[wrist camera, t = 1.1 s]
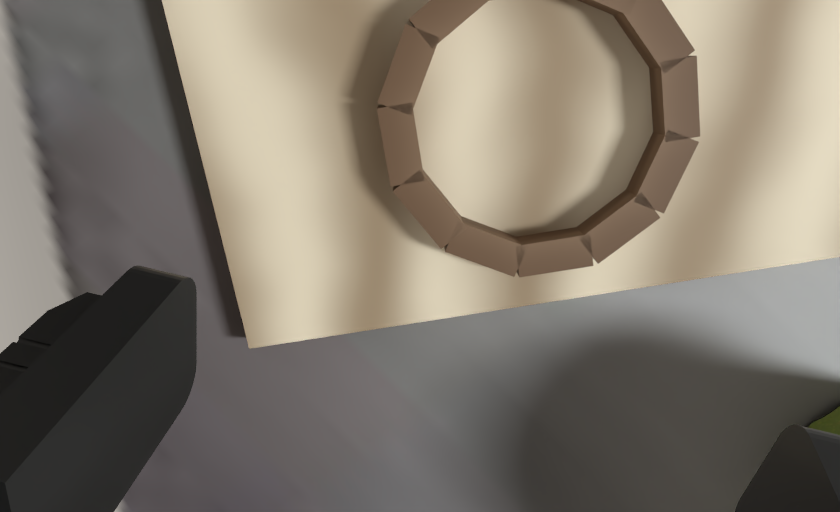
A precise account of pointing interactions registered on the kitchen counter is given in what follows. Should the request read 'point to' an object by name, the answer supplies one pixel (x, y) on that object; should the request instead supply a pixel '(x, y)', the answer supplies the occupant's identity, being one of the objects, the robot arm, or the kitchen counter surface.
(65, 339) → the robot arm
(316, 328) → the stool seat board
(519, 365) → the kitchen counter surface
